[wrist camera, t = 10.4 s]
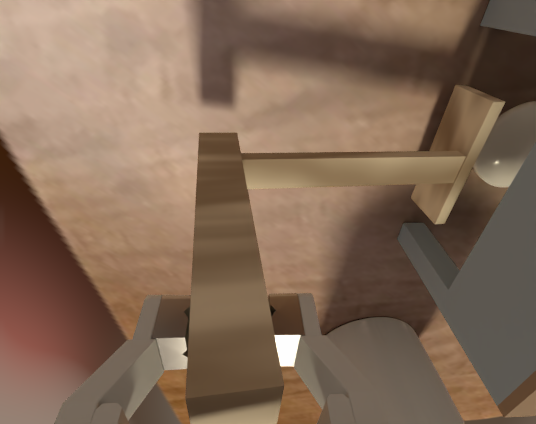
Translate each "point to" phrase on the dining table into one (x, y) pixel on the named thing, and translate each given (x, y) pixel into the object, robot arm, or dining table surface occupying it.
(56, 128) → the dining table surface
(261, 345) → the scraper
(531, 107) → the smooth oval stone
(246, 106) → the dining table surface
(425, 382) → the utensil holder
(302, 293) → the robot arm
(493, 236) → the wooden top stool
